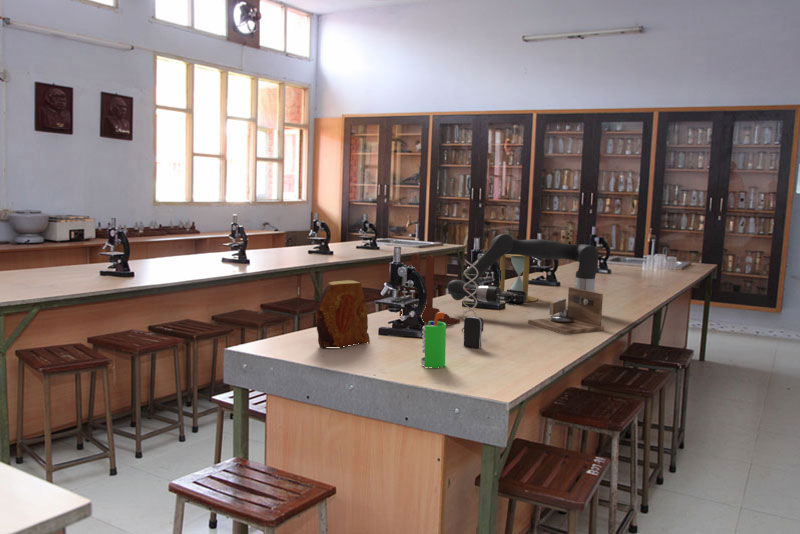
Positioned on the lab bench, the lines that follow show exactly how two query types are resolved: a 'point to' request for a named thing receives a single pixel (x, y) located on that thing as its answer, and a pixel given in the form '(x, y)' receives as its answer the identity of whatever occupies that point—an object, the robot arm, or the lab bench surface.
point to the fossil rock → (342, 315)
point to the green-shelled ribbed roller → (434, 343)
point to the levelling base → (578, 313)
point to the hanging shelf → (430, 292)
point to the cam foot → (560, 312)
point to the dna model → (471, 289)
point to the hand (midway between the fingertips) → (524, 298)
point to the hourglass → (520, 266)
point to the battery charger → (473, 331)
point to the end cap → (517, 300)
